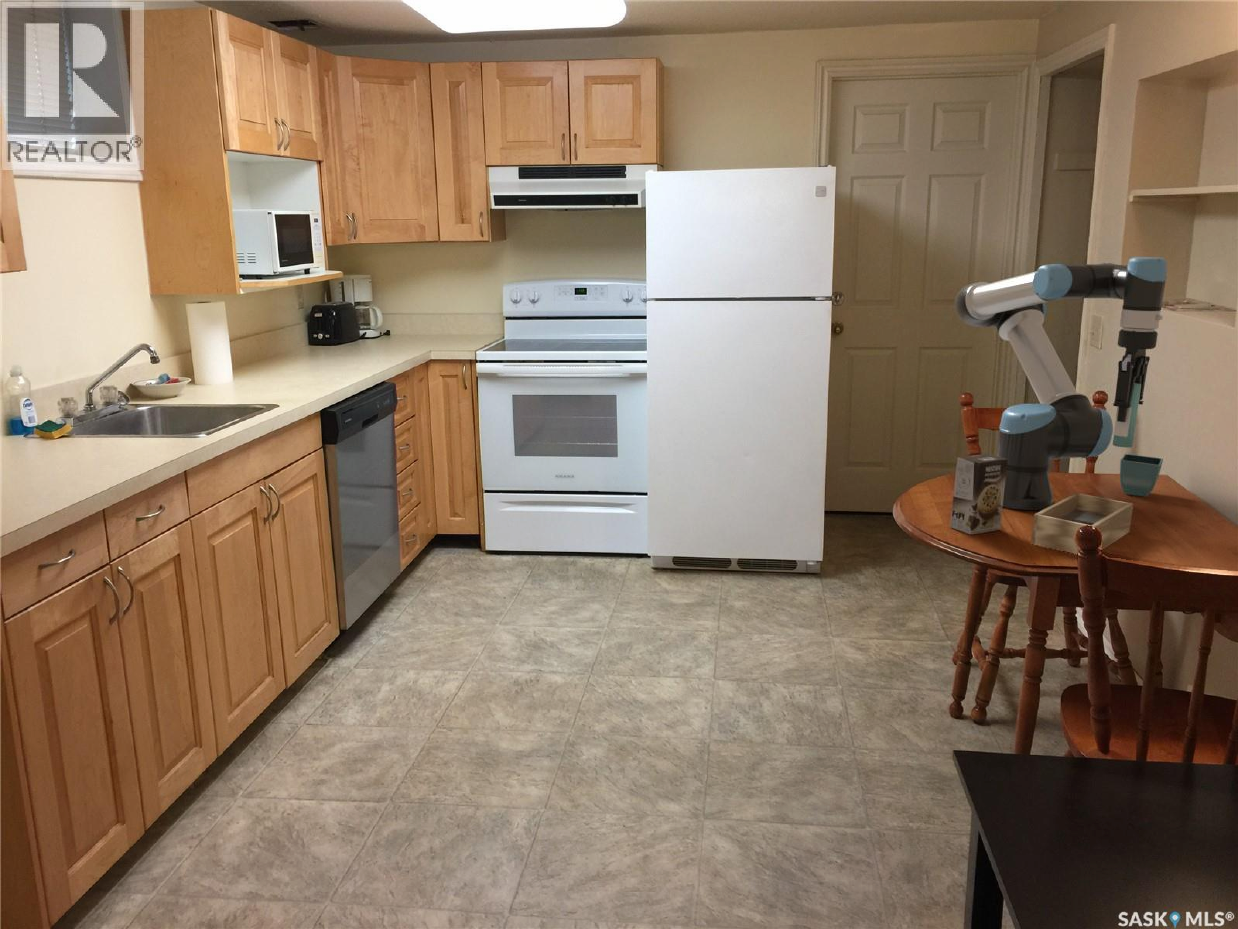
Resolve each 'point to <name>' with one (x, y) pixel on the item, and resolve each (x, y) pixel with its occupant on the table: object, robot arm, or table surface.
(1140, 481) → the flower pot
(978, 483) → the coffee box
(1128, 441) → the peg
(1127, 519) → the crate
